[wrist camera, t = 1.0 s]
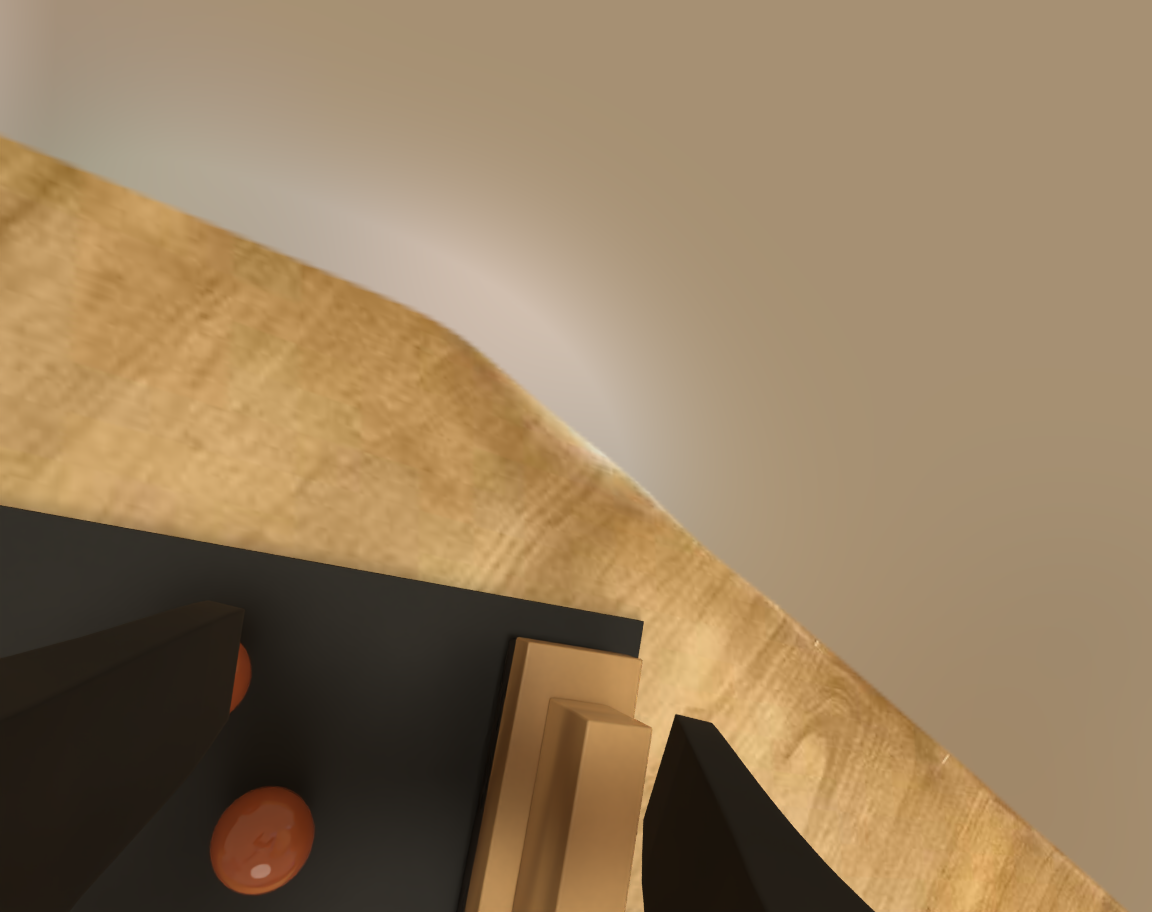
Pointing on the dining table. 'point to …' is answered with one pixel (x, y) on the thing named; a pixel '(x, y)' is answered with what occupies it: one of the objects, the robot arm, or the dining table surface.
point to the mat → (301, 707)
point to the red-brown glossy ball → (262, 840)
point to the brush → (559, 784)
